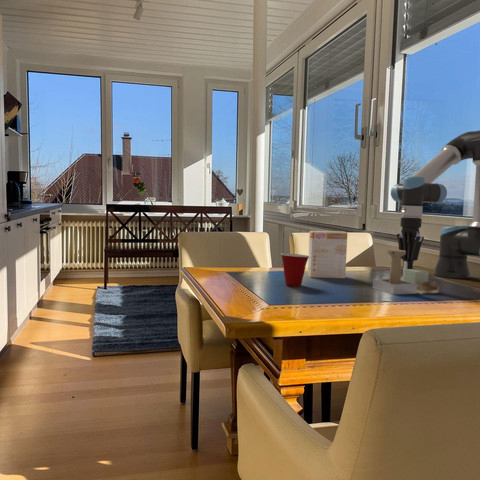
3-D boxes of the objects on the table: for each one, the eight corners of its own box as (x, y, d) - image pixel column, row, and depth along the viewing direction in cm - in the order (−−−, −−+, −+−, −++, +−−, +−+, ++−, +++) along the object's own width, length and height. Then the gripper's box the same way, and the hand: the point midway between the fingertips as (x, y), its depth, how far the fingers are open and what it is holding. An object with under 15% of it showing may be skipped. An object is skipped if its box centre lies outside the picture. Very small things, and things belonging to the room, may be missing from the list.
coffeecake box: (341, 275, 195) (343, 231, 194) (345, 278, 188) (348, 232, 186) (307, 274, 195) (309, 230, 193) (310, 277, 188) (312, 231, 186)
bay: (399, 282, 185) (399, 272, 184) (438, 292, 164) (439, 282, 163) (382, 282, 182) (383, 272, 182) (420, 293, 161) (421, 282, 161)
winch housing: (394, 287, 172) (395, 278, 172) (416, 293, 161) (417, 284, 160) (372, 288, 169) (373, 278, 168) (393, 294, 157) (393, 284, 157)
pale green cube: (416, 284, 173) (417, 268, 173) (427, 287, 168) (428, 271, 167) (403, 284, 172) (404, 269, 171) (414, 287, 166) (415, 271, 165)
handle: (398, 293, 161) (401, 251, 159) (382, 290, 165) (385, 249, 164) (405, 291, 164) (408, 250, 163) (389, 288, 169) (391, 249, 167)
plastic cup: (312, 285, 170) (314, 253, 169) (300, 289, 161) (301, 256, 160) (287, 281, 176) (289, 251, 175) (274, 285, 167) (275, 253, 166)
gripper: (392, 216, 177) (388, 275, 179) (414, 217, 165) (410, 281, 167) (408, 216, 179) (403, 274, 181) (431, 218, 167) (426, 280, 169)
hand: (407, 277), depth 174 cm, fingers closed
